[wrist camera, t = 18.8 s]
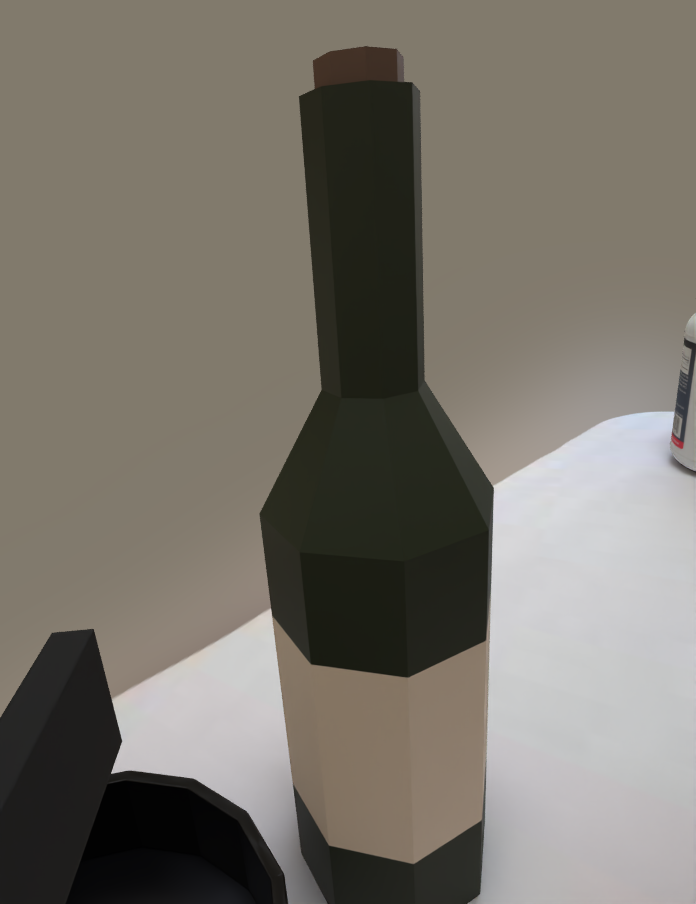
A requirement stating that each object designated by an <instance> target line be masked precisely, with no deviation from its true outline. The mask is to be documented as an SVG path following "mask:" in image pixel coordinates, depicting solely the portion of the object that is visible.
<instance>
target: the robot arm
mask: <svg viewBox="0 0 696 904" xmlns="http://www.w3.org/2000/svg"><path fill="white" fill-rule="evenodd" d="M121 743H122V739H121V735H120V731H119V727H118V723H117V719H116V715H115V711H114V707H113V703H112V699H111V695H110V691H109V688H108V684H107V680H106V676H105V672H104V668H103V664H102V660H101V656H100V652H99V648H98V645H97V640H96V636H95V632H94V629H88V630H77V631H67V632H57V633H52V634H51V636H50V637H49V639H48V640H47V642H46V644H45V645H44V647H43V649H42V650H41V652H40V654H39V655H38V657H37V659H36V660H35V662H34V663H33V665H32V667H31V668H30V670H29V672H28V673H27V675H26V677H25V678H24V680H23V681H22V683H21V685H20V686H19V688H18V690H17V691H16V693H15V695H14V696H13V698H12V700H11V701H10V703H9V704H8V706H7V708H6V709H5V711H4V713H3V714H2V716H1V717H0V904H66V901H67V898H68V895H69V892H70V890H71V887H72V884H73V881H74V878H75V875H76V872H77V869H78V867H79V864H80V861H81V858H82V855H83V852H84V849H85V846H86V844H87V841H88V838H89V835H90V832H91V829H92V826H93V823H94V821H95V818H96V815H97V812H98V809H99V806H100V803H101V800H102V798H103V795H104V792H105V789H106V786H107V783H108V780H109V777H110V775H111V772H112V769H113V766H114V763H115V760H116V757H117V754H118V752H119V749H120V746H121Z"/></svg>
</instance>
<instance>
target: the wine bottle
mask: <svg viewBox="0 0 696 904" xmlns="http://www.w3.org/2000/svg"><path fill="white" fill-rule="evenodd" d="M313 69H314V82H315V89H314V90H312V91H310V92H308V93H305V94H303V95H301V96H299V102H300V115H301V127H302V140H303V153H304V167H305V179H306V193H307V206H308V218H309V232H310V244H311V257H312V270H313V283H314V296H315V309H316V322H317V335H318V347H319V361H320V374H321V385H322V390H321V392H320V394H319V396H318V398H317V400H316V402H315V404H314V406H313V409H312V410H311V413H310V414H309V416H308V418H307V420H306V422H305V424H304V426H303V428H302V430H301V432H300V434H299V436H298V438H297V440H296V442H295V444H294V446H293V448H292V450H291V452H290V454H289V456H288V458H287V460H286V462H285V464H284V466H283V468H282V470H281V472H280V474H279V476H278V478H277V480H276V482H275V484H274V486H273V488H272V490H271V492H270V494H269V496H268V498H267V500H266V502H265V504H264V506H263V508H262V510H261V512H260V521H261V529H262V538H263V545H264V553H265V561H266V569H267V577H268V586H269V594H270V601H271V610H272V618H273V626H274V635H275V643H276V651H277V659H278V667H279V675H280V683H281V691H282V699H283V707H284V715H285V723H286V732H287V740H288V748H289V756H290V764H291V772H292V780H293V788H294V796H295V804H296V812H297V821H298V829H299V837H300V845H301V853H302V855H303V857H304V859H305V861H306V863H307V865H308V867H309V869H310V870H311V872H312V874H313V876H314V878H315V880H316V882H317V884H318V886H319V887H320V889H321V891H322V893H323V895H324V897H325V899H326V901H327V903H328V904H466V903H468V902H469V901H471V900H472V899H473V898H475V897H476V896H478V895H479V894H480V886H481V871H482V856H483V840H484V825H485V791H486V754H487V717H488V680H489V643H490V606H491V570H492V533H493V496H494V488H493V486H492V485H491V483H490V482H489V480H488V479H487V477H486V475H485V474H484V472H483V471H482V469H481V468H480V466H479V464H478V463H477V461H476V460H475V458H474V457H473V455H472V454H471V452H470V450H469V449H468V447H467V446H466V444H465V443H464V441H463V440H462V438H461V436H460V435H459V433H458V432H457V430H456V429H455V427H454V426H453V424H452V423H451V421H450V419H449V418H448V416H447V415H446V413H445V412H444V410H443V409H442V407H441V405H440V404H439V402H438V401H437V399H436V398H435V396H434V395H433V393H432V391H431V390H430V388H429V387H428V385H427V384H426V382H425V380H424V316H423V256H422V255H423V254H422V190H421V133H420V132H421V130H420V129H421V127H420V91H419V90H418V88H417V87H416V86H415V85H414V84H413V83H412V82H404V63H403V56H402V55H401V54H400V52H399V51H398V50H397V49H390V48H377V47H367V46H365V47H358V48H351V49H344V50H337V51H330V52H328V53H326V54H324V55H322V56H321V57H319V58H317V59H315V60H313Z"/></svg>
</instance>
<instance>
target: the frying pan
mask: <svg viewBox="0 0 696 904" xmlns="http://www.w3.org/2000/svg"><path fill="white" fill-rule="evenodd" d="M66 904H288V898H287V891H286V884H285V877H284V873H283V871H282V870H281V868H280V866H279V865H278V863H277V861H276V859H275V858H274V856H273V854H272V853H271V851H270V849H269V848H268V846H267V844H266V842H265V841H264V839H263V837H262V836H261V834H260V832H259V831H258V829H257V827H256V826H255V824H254V822H253V820H252V819H251V817H250V815H249V814H248V813H247V812H246V811H245V810H243V809H242V808H240V807H239V806H237V805H235V804H234V803H232V802H231V801H229V800H227V799H226V798H224V797H223V796H221V795H219V794H218V793H216V792H214V791H213V790H211V789H210V788H208V787H206V786H205V785H203V784H202V783H200V782H198V781H197V780H195V779H192V778H184V777H176V776H169V775H161V774H153V773H145V772H138V771H124V772H119V773H114V774H111V775H110V777H109V780H108V783H107V786H106V789H105V792H104V795H103V798H102V800H101V803H100V806H99V809H98V812H97V815H96V818H95V821H94V823H93V826H92V829H91V832H90V835H89V838H88V841H87V844H86V846H85V849H84V852H83V855H82V858H81V861H80V864H79V867H78V869H77V872H76V875H75V878H74V881H73V884H72V887H71V890H70V892H69V895H68V898H67V901H66Z"/></svg>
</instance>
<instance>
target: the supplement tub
mask: <svg viewBox="0 0 696 904" xmlns="http://www.w3.org/2000/svg"><path fill="white" fill-rule="evenodd" d="M670 448H671V452H672V454H673V456H674V457H675V458H676V460H677V461H679V462H680V463H681V464H682V465H684V466H685V467H687V468H689V469H691V470H693V471H696V313H695V314H694V315H693V316H692V317H691V318H690V320H689V321H688V323H687V326H686V329H685V338H684V347H683V356H682V363H681V370H680V378H679V385H678V393H677V400H676V408H675V415H674V421H673V429H672V436H671V441H670Z"/></svg>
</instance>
